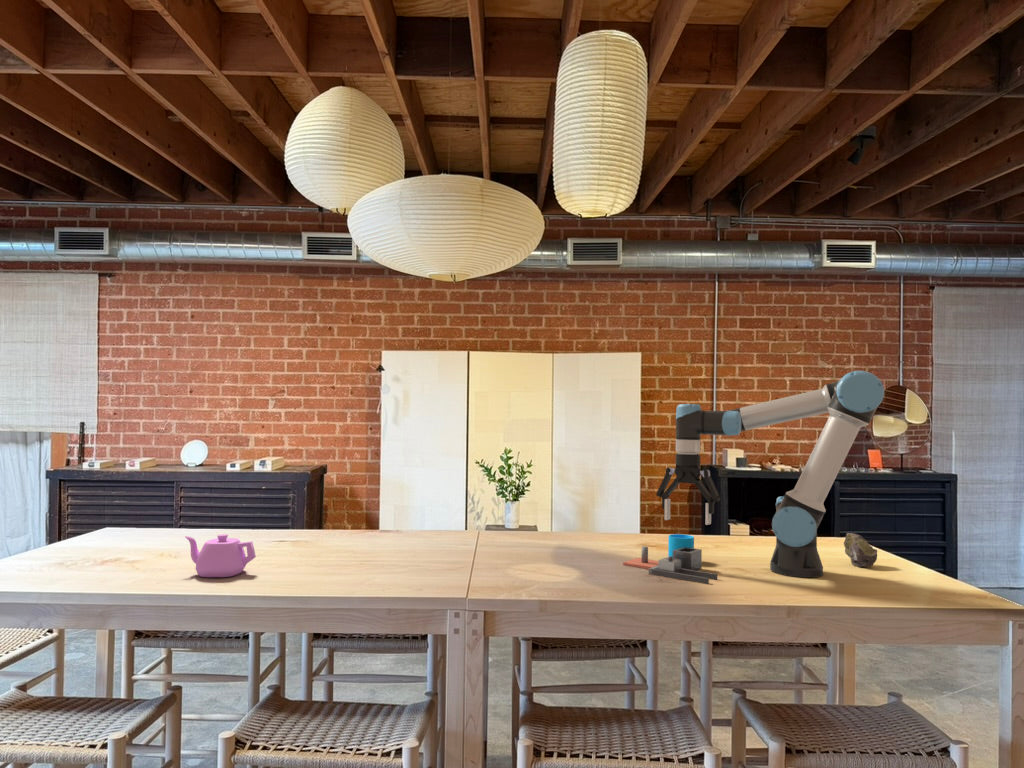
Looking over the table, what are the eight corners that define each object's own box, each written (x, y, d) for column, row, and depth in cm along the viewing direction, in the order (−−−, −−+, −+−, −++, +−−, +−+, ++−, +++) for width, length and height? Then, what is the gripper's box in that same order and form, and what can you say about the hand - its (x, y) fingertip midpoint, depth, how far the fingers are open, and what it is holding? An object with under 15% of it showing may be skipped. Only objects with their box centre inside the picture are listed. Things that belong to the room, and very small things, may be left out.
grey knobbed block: (681, 573, 205) (681, 556, 205) (674, 576, 201) (674, 559, 202) (665, 570, 208) (665, 554, 209) (658, 573, 204) (658, 556, 205)
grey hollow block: (701, 568, 213) (701, 549, 214) (691, 573, 207) (691, 553, 207) (683, 565, 217) (683, 546, 217) (672, 570, 211) (672, 550, 211)
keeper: (666, 564, 218) (666, 546, 219) (652, 569, 211) (652, 551, 211) (637, 560, 225) (637, 542, 225) (623, 565, 217) (623, 547, 217)
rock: (835, 564, 223) (835, 534, 223) (848, 561, 229) (848, 531, 230) (870, 570, 215) (870, 539, 215) (882, 566, 221) (882, 535, 222)
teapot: (192, 568, 201) (194, 530, 202) (261, 569, 202) (263, 531, 203) (172, 579, 188) (174, 538, 189) (246, 579, 189) (248, 539, 190)
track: (717, 579, 200) (717, 574, 200) (707, 584, 194) (707, 578, 194) (659, 569, 211) (659, 564, 211) (648, 573, 205) (648, 568, 205)
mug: (697, 564, 221) (697, 538, 221) (672, 564, 220) (673, 538, 220) (684, 556, 233) (685, 532, 233) (661, 556, 232) (661, 532, 232)
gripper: (731, 454, 209) (731, 525, 208) (656, 451, 224) (656, 516, 223) (722, 455, 203) (722, 527, 202) (646, 451, 218) (645, 518, 217)
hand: (687, 522), depth 213 cm, fingers open, 13 cm apart
